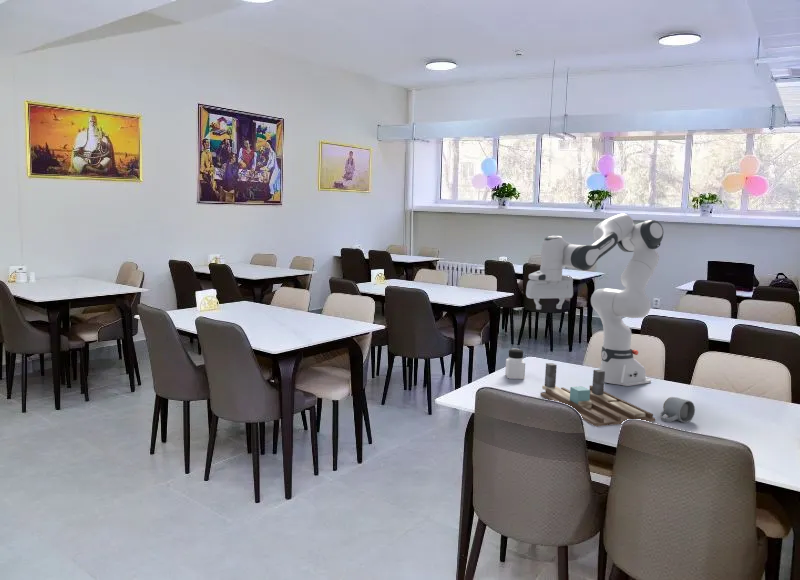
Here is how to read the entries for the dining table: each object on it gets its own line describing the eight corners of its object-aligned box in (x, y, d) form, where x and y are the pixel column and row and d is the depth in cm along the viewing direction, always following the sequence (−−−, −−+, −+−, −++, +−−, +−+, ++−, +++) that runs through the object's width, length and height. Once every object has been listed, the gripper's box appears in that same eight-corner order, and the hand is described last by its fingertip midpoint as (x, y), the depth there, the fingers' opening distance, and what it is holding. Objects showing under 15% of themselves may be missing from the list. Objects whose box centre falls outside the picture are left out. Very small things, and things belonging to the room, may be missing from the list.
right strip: (553, 387, 257) (554, 362, 255) (591, 407, 232) (593, 380, 231) (542, 388, 255) (543, 363, 254) (579, 408, 231) (581, 381, 229)
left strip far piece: (620, 404, 237) (620, 401, 237) (645, 416, 224) (645, 413, 224) (608, 405, 236) (608, 402, 235) (633, 417, 222) (633, 414, 222)
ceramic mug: (675, 414, 231) (677, 393, 230) (694, 421, 224) (696, 400, 223) (654, 418, 227) (655, 397, 226) (672, 425, 219) (674, 403, 218)
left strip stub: (600, 395, 248) (602, 369, 247) (616, 402, 239) (618, 376, 238) (589, 395, 247) (591, 370, 245) (605, 403, 237) (607, 376, 236)
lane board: (593, 391, 257) (594, 385, 256) (655, 421, 223) (655, 413, 223) (540, 395, 249) (541, 388, 249) (595, 426, 216) (596, 418, 215)
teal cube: (581, 399, 238) (582, 386, 237) (589, 403, 233) (590, 390, 233) (569, 400, 237) (570, 387, 236) (577, 404, 232) (578, 390, 231)
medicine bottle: (524, 379, 272) (526, 351, 271) (507, 378, 272) (509, 351, 271) (521, 375, 279) (523, 347, 278) (505, 374, 279) (506, 347, 278)
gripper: (568, 274, 268) (566, 307, 270) (525, 274, 262) (523, 308, 264) (577, 276, 262) (575, 309, 264) (532, 276, 256) (530, 310, 258)
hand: (548, 309), depth 264 cm, fingers open, 8 cm apart
